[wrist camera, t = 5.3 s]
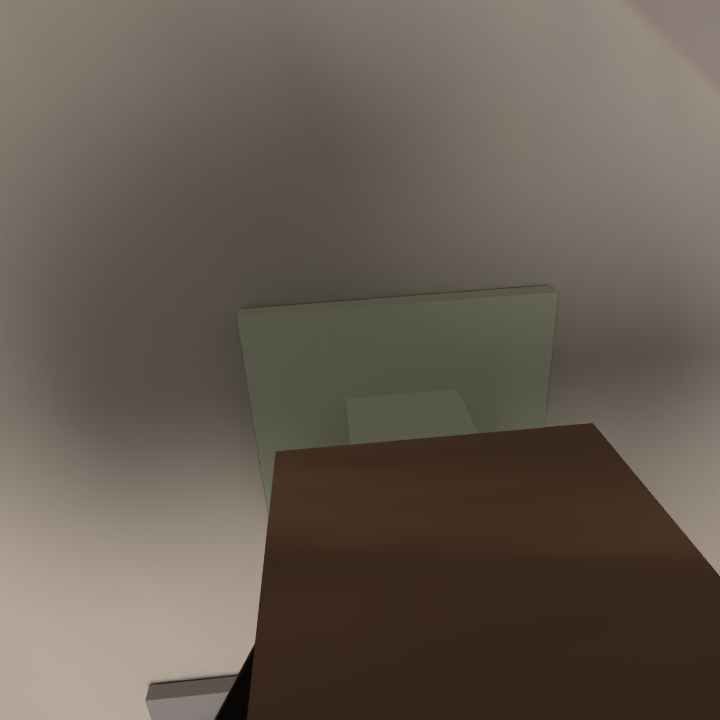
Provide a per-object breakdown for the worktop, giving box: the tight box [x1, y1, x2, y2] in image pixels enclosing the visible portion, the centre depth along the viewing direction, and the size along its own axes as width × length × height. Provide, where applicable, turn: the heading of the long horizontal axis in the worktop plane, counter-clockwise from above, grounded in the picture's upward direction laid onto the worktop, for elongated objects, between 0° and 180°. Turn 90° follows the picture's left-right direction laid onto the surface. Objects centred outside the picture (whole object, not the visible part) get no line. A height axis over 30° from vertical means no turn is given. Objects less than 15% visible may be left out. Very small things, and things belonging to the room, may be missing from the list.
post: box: [237, 285, 558, 518], centre depth 12 cm, size 7×7×6 cm
